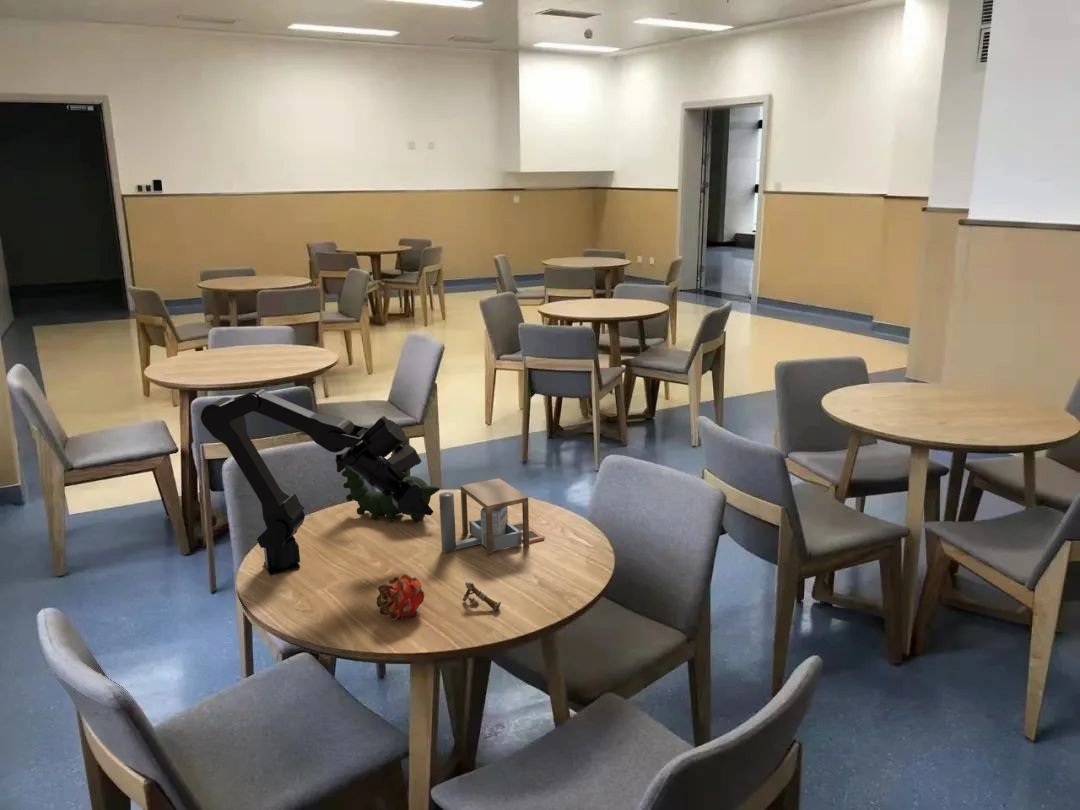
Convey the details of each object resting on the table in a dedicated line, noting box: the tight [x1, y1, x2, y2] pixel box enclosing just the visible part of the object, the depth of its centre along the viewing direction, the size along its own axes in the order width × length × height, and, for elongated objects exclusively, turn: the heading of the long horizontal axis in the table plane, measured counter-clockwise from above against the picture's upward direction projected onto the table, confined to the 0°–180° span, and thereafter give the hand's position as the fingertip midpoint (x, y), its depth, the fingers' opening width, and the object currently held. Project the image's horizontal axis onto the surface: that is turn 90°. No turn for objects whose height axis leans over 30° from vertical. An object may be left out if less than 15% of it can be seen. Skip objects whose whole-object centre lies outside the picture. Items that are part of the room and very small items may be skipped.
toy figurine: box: [341, 467, 441, 523], centre depth 200 cm, size 9×19×25 cm
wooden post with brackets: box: [462, 582, 502, 613], centre depth 159 cm, size 2×8×4 cm, turn 61°
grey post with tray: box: [438, 491, 523, 553], centre depth 185 cm, size 17×12×13 cm
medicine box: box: [480, 506, 509, 546], centre depth 188 cm, size 8×4×9 cm, turn 168°
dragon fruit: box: [376, 573, 425, 621], centre depth 156 cm, size 8×8×12 cm
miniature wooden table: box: [460, 477, 530, 558], centre depth 187 cm, size 10×15×12 cm
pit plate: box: [510, 520, 545, 544], centre depth 192 cm, size 5×11×1 cm, turn 29°
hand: (424, 506), depth 178 cm, fingers open, 9 cm apart
